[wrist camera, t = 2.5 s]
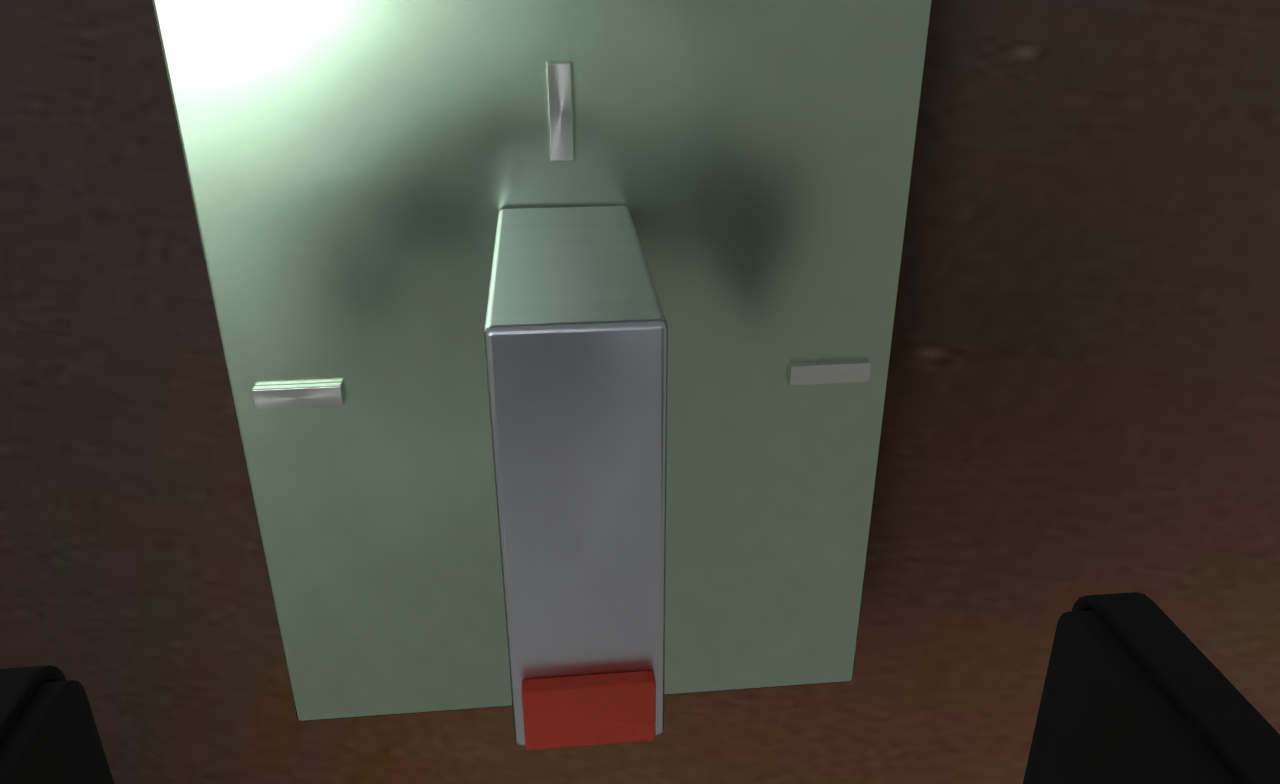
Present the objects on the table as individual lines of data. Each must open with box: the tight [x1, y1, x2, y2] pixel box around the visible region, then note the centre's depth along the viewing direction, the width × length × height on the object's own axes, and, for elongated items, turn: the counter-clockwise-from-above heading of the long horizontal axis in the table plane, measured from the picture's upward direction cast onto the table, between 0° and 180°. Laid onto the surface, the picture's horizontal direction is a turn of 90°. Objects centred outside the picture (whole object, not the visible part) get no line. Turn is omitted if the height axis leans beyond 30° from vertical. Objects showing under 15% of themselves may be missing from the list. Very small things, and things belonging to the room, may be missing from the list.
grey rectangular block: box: [483, 206, 668, 750], centre depth 14 cm, size 6×2×5 cm, turn 0°
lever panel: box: [152, 0, 932, 721], centre depth 18 cm, size 14×11×3 cm
